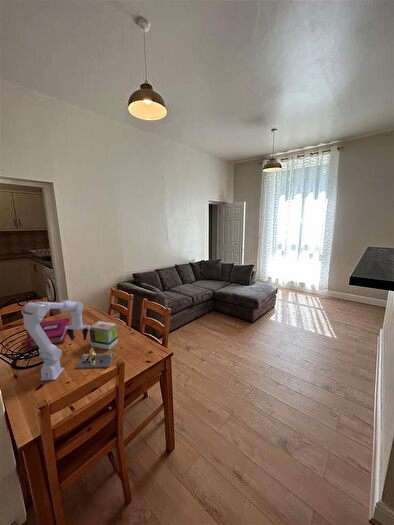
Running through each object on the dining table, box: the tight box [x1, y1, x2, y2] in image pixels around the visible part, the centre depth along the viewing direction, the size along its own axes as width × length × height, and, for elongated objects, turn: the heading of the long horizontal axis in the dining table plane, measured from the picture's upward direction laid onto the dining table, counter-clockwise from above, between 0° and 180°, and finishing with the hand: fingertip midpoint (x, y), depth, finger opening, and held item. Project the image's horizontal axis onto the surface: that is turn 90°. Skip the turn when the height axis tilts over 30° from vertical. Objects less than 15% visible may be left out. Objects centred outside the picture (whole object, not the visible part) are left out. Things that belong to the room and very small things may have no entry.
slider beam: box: [81, 352, 113, 362], centre depth 133 cm, size 5×17×2 cm, turn 95°
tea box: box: [89, 320, 119, 350], centre depth 150 cm, size 15×10×15 cm, turn 74°
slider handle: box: [87, 347, 97, 362], centre depth 133 cm, size 6×3×5 cm, turn 5°
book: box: [25, 317, 71, 350], centre depth 160 cm, size 21×28×8 cm
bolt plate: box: [75, 353, 115, 369], centre depth 133 cm, size 11×19×1 cm, turn 95°
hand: (78, 339), depth 138 cm, fingers open, 7 cm apart
